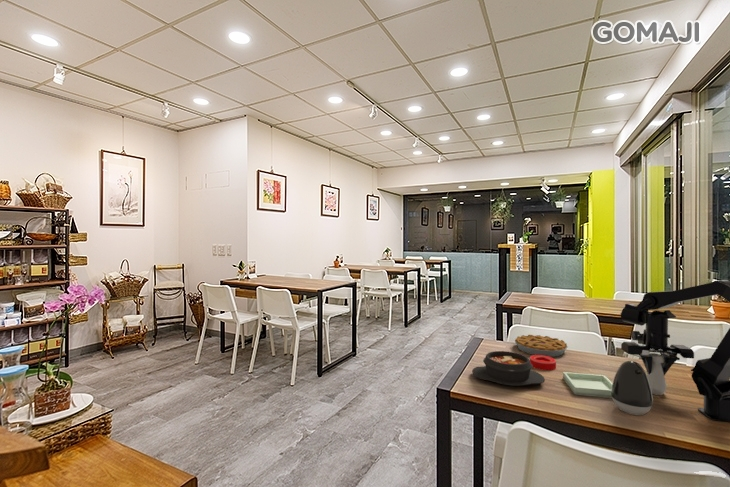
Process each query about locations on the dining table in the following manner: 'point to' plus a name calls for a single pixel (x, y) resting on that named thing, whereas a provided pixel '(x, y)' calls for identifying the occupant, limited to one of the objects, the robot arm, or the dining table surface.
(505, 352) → the casserole
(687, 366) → the dining table surface
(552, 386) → the dining table surface
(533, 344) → the pie
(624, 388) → the dark grey egg shape
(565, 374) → the tray
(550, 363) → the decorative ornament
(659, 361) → the salt shaker
